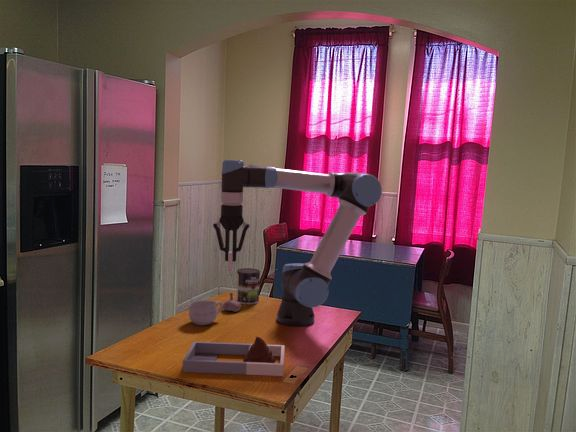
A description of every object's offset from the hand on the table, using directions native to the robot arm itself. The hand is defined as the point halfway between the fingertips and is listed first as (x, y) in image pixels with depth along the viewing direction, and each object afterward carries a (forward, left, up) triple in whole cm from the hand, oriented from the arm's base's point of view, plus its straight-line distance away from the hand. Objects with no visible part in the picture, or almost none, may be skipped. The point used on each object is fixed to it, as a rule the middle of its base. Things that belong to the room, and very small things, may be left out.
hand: (230, 270), depth 181 cm
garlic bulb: (-8, -30, -25) cm, 40 cm away
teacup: (+5, -17, -25) cm, 30 cm away
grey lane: (+8, +22, -24) cm, 34 cm away
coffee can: (-18, -42, -25) cm, 52 cm away
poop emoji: (-4, +27, -25) cm, 37 cm away
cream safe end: (-5, +27, -24) cm, 37 cm away
